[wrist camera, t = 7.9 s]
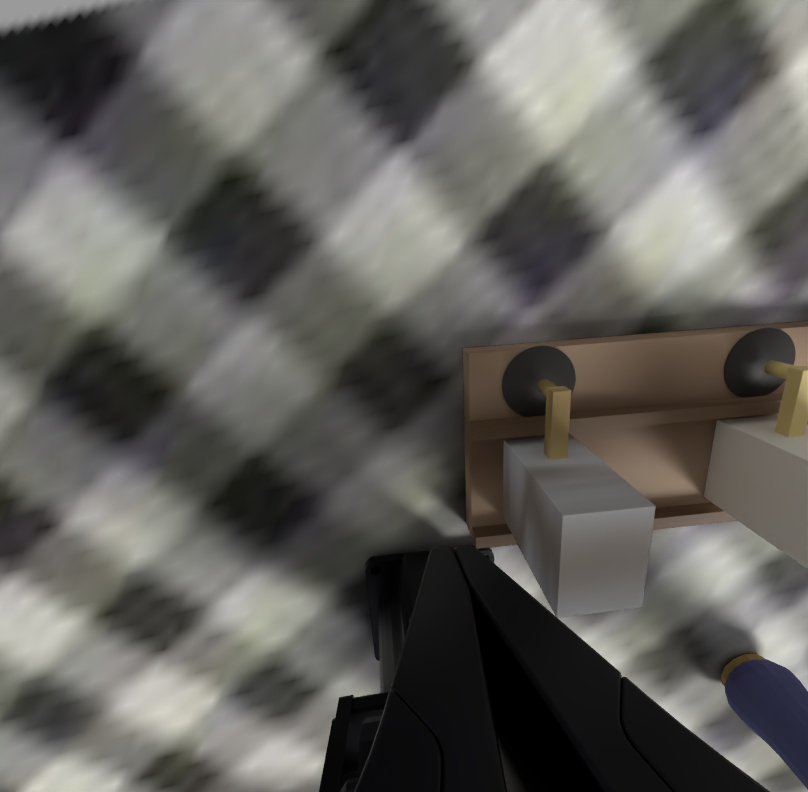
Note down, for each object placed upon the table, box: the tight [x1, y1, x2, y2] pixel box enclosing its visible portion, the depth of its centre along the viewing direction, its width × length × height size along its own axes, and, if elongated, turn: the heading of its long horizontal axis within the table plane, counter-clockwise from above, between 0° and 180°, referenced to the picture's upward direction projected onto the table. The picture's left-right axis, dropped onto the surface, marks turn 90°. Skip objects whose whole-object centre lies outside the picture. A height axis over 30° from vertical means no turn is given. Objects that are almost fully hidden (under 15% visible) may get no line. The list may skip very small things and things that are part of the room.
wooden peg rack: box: [463, 321, 808, 618], centre depth 17 cm, size 9×20×7 cm, turn 93°
